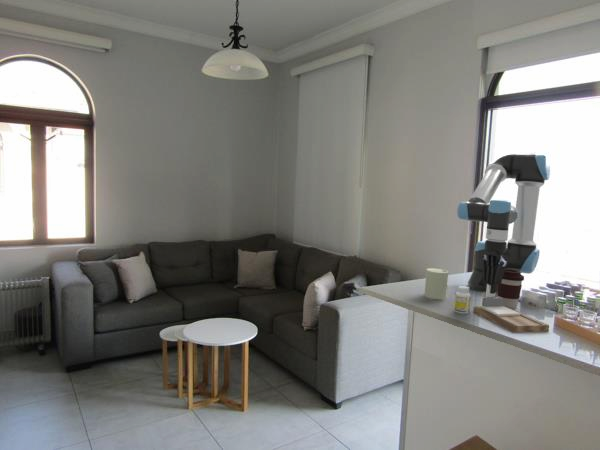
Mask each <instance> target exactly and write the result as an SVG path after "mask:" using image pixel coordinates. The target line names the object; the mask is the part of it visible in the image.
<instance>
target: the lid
mask: <svg viewBox="0 0 600 450" xmlns="http://www.w3.org/2000/svg"><path fill="white" fill-rule="evenodd" d="M479 306H480V308H482V309H484V310H486V311H488V312H490V313H492V314H494V315H496V316H520V313H521V312H520V313H518V312H519V311H518V312H516V311H517V310H516V311H514V310H515V309H513V310H511V309H509V308H507V307H504V306H503V298H502V297H498V296H496V297H495V296H494V297H486V296H483V297H482V301H481V305H479Z"/></svg>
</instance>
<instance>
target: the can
mask: <svg viewBox="0 0 600 450" xmlns="http://www.w3.org/2000/svg"><path fill="white" fill-rule="evenodd" d="M425 272H426V273H425V284H424V294H423V295H424V297H426V298H427V299H432V300H437V299H439V300H440V301H441V300H442V299H443V300H447V289H448V288H447V287H448V279H449V271H448V270H446V269H442V268H433V267H432V268H431V267H430V268H429V267H428V268H426V271H425ZM439 300H438V301H439Z"/></svg>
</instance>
